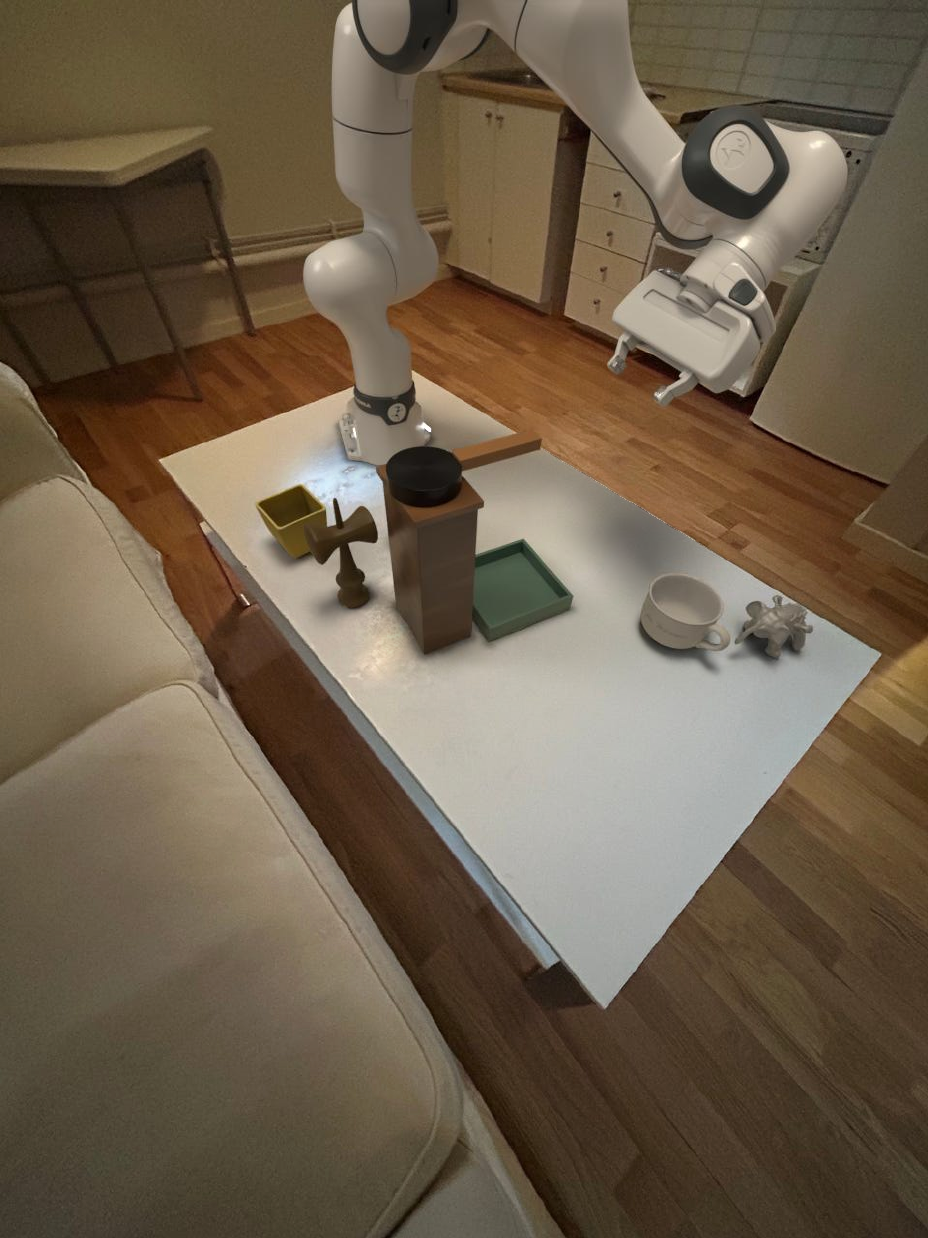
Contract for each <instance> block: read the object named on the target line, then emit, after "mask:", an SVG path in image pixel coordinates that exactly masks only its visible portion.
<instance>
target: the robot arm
mask: <svg viewBox="0 0 928 1238" xmlns="http://www.w3.org/2000/svg"><path fill="white" fill-rule="evenodd" d="M628 2H629V1H628V0H351V2H350V3H348V4H347V5H345V6H344V7H343V8H342V10H341V11H340V12H339V14H338V16H337V19H336V22H335V27H334V35H333V46H332V58H331V59H332V61H331V114H332V115H331V116H332V134H333V136H332V137H333V152H334V169H335V170H334V171H335V179H336V182H337V185H338V187H339V189H340V191H341V192H342V194H343V195H344V196H345V198H346V199H347V200H348V201H349V202H351V203H352V204H353V205H355V206H356V207H358V208H359V209H361V213H362V218H363V229H362V232H360V233H357V234H354V235H349V236H345V237H341V238H337V239H333V240H331V241H329V242H327V243H325V244H324V245H322V246H320V247H319V248H317V249H316V250H314V251H313V252H311V253H309V255H307V257H306V258H305V261H304V265H303V270H302V280H303V287H304V291H305V294H306V296H307V298H308V300H309V302H310V304H311V305H312V307H313V309H315V311H317V313H319V315H321V316H322V317H323V318H325V319H326V320H328V321H329V322H332V323H333V324H334V325H335V326H336V327H337V328H338V329H339V330H340V331H341V332H342V334H343V336H344V338H345V340H346V343H347V345H348V348H349V352H350V358H351V362H352V363H351V364H352V368H353V376H354V385H353V392H352V393H353V396H352V398H351V399H349V400H348V401H347V403H346V411H347V413H342V414H341V419H340V420H339V422H338V425H339V431H340V434H341V436H342V441H343V445H344V449H345V452H346V453H345V454H346V457H347V459H348V460H350V461H355V462H364V463H368V464H370V465H373V466H381V465H384V464H387V462H388V460H389V459H390V458H391V457H392V456H393V455H394V454H396V453H398V452H399V451H402V450H404V449H407V448H411V447H418V446H426V445H427V444H428V443H429V442H430V441H431V434H430V432H432V428H431V427H430V426H428V425H427V424H426V423H425V422H424V415H423V407H422V405H421V404H420V403H419V402H417V399H416V395H417V392H416V390H417V389H416V387H415V386H416V385H415V381H414V379H413V372H412V371H413V367H412V347H411V344H410V341H409V339H408V338H407V337H406V335H405V334H404V333H403V332H402V331H401V330H399V329H397V328H395V327H393V326H390V325H389V321H388V317H387V311H388V308H389V307H391V306H393V305H397V304H399V303H402V302H404V301H407V300H410V299H412V298H414V297H416V296H418V295H419V294H421V293H422V292H423V291H425V290H426V289H427V288H428V287H430V286H432V284H433V283H434V282H435V280H436V279H437V276H438V273H439V253H438V249H437V246H436V244H435V243H436V242H435V241H434V239H433V237H432V236H431V234H430V233H429V232H428V231H427V230H426V229H425V227H424V226H422V224H421V222H420V220H419V218H418V215H417V212H416V207H415V203H414V198H413V187H412V164H413V163H412V159H413V158H412V156H413V126H414V125H413V124H414V96H415V95H414V94H415V89H416V84H417V79H418V78H419V75H420V74H421V73H425V72H427V73H428V72H434V71H439V70H442V69H444V68H445V69H446V68H447V67H449V66H450V65H452V64H453V63H456V62H460V61H464V60H467V59H469V58H472V57H473V56H474V55H475V54H477V52H479V51H480V50H481V49H482V48H483V47H484V46H485V45H486V44H487V42H488V41H489V39H490V38H491V37H492V34H493V33H494V34H496V35H497V36H498V37H499V38H500V39H501V40H503V42H504V43H505V44H506V45H507V46H508V47H509V48H510V49H511V50H512V51H513V53H515V54H516V55H517V56H518V57H519V58H520V59H521V60H522V62H524V64H526V66H527V67H529V69H530V70H531V71H533V73H535V74H536V75H537V76H538V77H539V78H540V79H541V81H543V82H544V83H545V85H546V86H548V87H549V88H550V90H552V91H553V92H554V93H555V94H556V95H557V96H558V97H559V98H560V99H561V100H562V101H563V102H564V103H565V104H566V105H567V106H568V107H569V108H570V110H571V111H572V112H573V113H574V114H575V115H576V116H577V117H578V118H579V119H580V120H581V121H582V123H584V125H586V127H587V128H588V129H589V130H590V132H591V133H592V134H593V136H594V137H595V138H596V139H597V140H598V142H599V143H600V144H601V145H602V146H603V148H604V149H605V150H606V151H607V152H608V153H609V155H610V156H611V157H612V158H613V159H614V161H616V163H617V164H618V165H619V167H621V168H622V170H623V171H624V173H626V174H627V176H628V177H629V178H630V180H632V182H633V183H634V184H635V185H636V186H637V187H638V188H639V191H641V192H642V194H643V195H644V197H645V199H646V200H647V203H648V205H649V207H650V210H651V213H652V217H653V219H654V222H655V225H656V228H657V230H658V233H659V234H660V236H661V237H662V238H663V239H664V240H665V242H667V243H668V244H669V245H671V246H672V247H674V248H677V249H680V250H685V251H690V250H697V249H701V248H703V249H702V250H701V251H700V252H699V254H698V255H697V256H696V257H695V259H694V260H693V261H692V262H691V263H690V264H689V266H688V267H687V268H686V269H685V271H683V272H682V271H677V270H675V268H673V267H672V266H664V267H662V268H658V269H656V270H655V269H654V270H652V271H651V272H650V273H649V274H648V275H647V276H646V277H645V278H643V279H642V280H641V281H640V282H639V283H638V284H637V285H636V286H635V287H634V288H633V289H632V290H631V291H630V292H629V293H628V294H627V295H626V296H625V297H624V298H623V300H622V301H620V303H619V304H618V305H617V306H616V308H615V309H613V312H612V317H611V322H612V324H613V325H614V327H615V328H616V330H617V331H618V333H620V334H621V335H620V337H619V338H618V340H617V343H616V347H615V350H614V355H612V357H611V358H610V359H609V361H608V362H607V364H606V367H607V368H608V370H609V371H610V372H612V373H613V374H615V375H616V376H619V375H621V374H622V371H624V370H625V369H626V368H627V366H628V364H627V362H625V361H626V358H627V355H628V352H629V351H634V349H635V348H636V347H637V346H639V347H641V348H642V349H644V350H645V351H648V352H649V353H650V354H652V355H654V356H655V357H657V358H658V359H660V360H662V361H663V362H664V363H666V364H668V365H670V366H671V367H673V368H674V369H676V370H678V371H679V372H680V374H679V375H678V377H679V379H678V380H677V381H674V382H673V383H671V384H670V385H668V386H665V385H663V384H661V385H660V386H659V387H658V388H657V391H655V392H654V393H653V395H652V400H653V401H654V402H655V403H656V404H657V405H659V406H660V407H662V408H666V407H667V406H668V405H669V404H670V403H671V402H672V401H673V400H674V398H677V397H680V396H682V395H684V394H686V393H688V392H691V391H692V390H693V389H695V387H696V386H697V385H698V384H700V385H702V386H703V387H705V388H706V389H708V390H709V391H711V392H712V393H714V394H720V393H723V392H725V391H728V390H729V389H730V388H732V386H733V385H735V383H736V382H738V380H739V379H740V378H741V376H743V374H744V373H745V372H746V371H747V370H748V368H749V367H750V366H751V365H752V363H754V361H755V360H756V358H757V356H758V355H759V353H760V350H761V343H765V342H767V341H769V340H770V339H771V338H772V337H773V336H774V335H775V333H776V332H777V326H776V325H777V324H776V320H775V317H774V313H773V310H772V308H771V306H770V303H769V300H768V299H767V297H766V294H765V293H764V292H765V291H766V290H767V288H768V287H769V285H770V283H771V282H772V280H773V278H774V276H775V275H776V274H777V272H778V271H779V270H780V269H781V268H783V267H784V266H785V265H786V264H788V263H790V262H791V261H792V260H794V258H795V257H796V256H797V255H798V254H799V253H800V252H801V250H802V249H803V248H804V247H805V246H806V245H807V244H808V243H809V241H810V240H811V239H812V238H813V237H814V236H815V234H816V233H817V232H818V231H819V229H820V228H821V227H822V225H823V224H824V223H825V221H826V220H827V219H828V217H830V215H831V214H832V212H834V211H833V210H835V208H836V206H837V204H838V203H839V201H840V199H841V198H842V197H843V194H844V192H845V189H846V186H847V181H848V175H849V174H848V164H847V160H846V157H845V153H844V151H843V149H842V147H841V146H840V144H839V143H838V142H837V141H836V140H835V138H833V136H831V135H830V134H828V133H827V132H824V131H822V130H809V131H795V130H790V129H786V128H783V127H780V126H778V125H775V124H773V123H771V122H769V121H768V120H765V119H764V117H762V115H761V114H760V113H759V112H758V111H756V110H754V109H753V108H751V107H749V106H746V105H743V104H742V105H741V104H730V105H726V106H721V107H718V108H717V109H715V110H713V111H711V112H710V113H708V114H707V115H706V116H704V117H703V118H702V119H701V120H700V121H699V122H698V123H697V124H696V126H695V127H694V128H693V129H692V131H691V132H690V134H689V136H688V138H687V140H686V142H684V141H683V140H682V139H681V137H680V136H679V135H678V134H677V133H676V131H675V130H674V129H673V128H672V126H670V124H669V122H667V120H666V119H665V118H664V116H663V115H662V113H660V112H659V110H658V109H657V107H656V106H655V105H654V104H653V103H652V102H651V100H650V99H649V97H648V96H647V95H646V94H645V92H644V90H643V88H642V86H641V83H640V81H639V78H638V76H637V72H636V68H635V64H634V59H633V51H632V43H631V34H630V21H629V20H630V19H629V3H628Z"/></svg>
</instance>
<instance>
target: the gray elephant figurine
mask: <svg viewBox="0 0 928 1238" xmlns="http://www.w3.org/2000/svg"><path fill="white" fill-rule="evenodd" d="M771 599H772V602H773V603H774V606H773V607H768V606H767V605H766V604H765V603H764V602H763V601H760V600H754V601H751V602H749V603H748V604H747V605H746V606H745V611H746V613H747V615H748V616H749V617H750V618H751V619H748V620H745V621H744V622H743V628H744V631H743V632H741V633H740V634H739V635H738V636H737V637H736V638H735V639H734V641H733V643H734V645H740V644H741V643H742V642H743V641H744V639H745V638H747V637H748V636H749V635H750V634H752V633H753V635H754V636H755V637H757V638H760V639H766V638H767V639H768V646H766V648H765V649H764V652H765V653H766V655H768V656H770V657H772V658H775V659H778V658H780V657H781V655H782V646H783V644H785V642H786V641H787V639H788V637H789V636H791V635H792V643H791V645H792V646H791V647H792V648H793V649H794V650H795V651H799V650H801V649H802V648H804V647H805V644H806V639H807V637H806V636H807V635H809V634H812V633H813V631H814V626H813V625H812V624H809V625H807V623H806V621H805V620H806V618H807V617H806V616H807V615H808V611H807V608H806V607H804V606H802V605H801V604H800V603H799V602H796V603H791V602H788V603H785V604H783V603H782V602H783V599H784V597H783V596H782V595H780V594H776V595H773V596H772V597H771Z"/></svg>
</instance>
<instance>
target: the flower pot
mask: <svg viewBox="0 0 928 1238" xmlns="http://www.w3.org/2000/svg"><path fill="white" fill-rule="evenodd" d="M254 505H255V507H256V509H257V511H258V514H259V515H260V517H261V519H262V522H263V523H264V525H265V527H266V529H268V531H269V532H270V534H271V535H272V536H273V537H274V538H275V539H276V540H277V541H278V543H279V544H280V545H281V546H282V547H283V549H285V550H286V552H287V553H288V554H289V555H290V556H291V557H293V558H295V559H298V558H300V557H302V556H304V555H306V554H308V553H311V551H310V549H309V546H308V544H307V541H306V538H305V535H304V530H303V528H304V524H305V523H309V524H314V525H318V526H324V527H328V518H327V516H328V515H327V507H326V506H325V505H324V503H322V502H321V501H320V500H319V499H318V498H317V497H316V496H315V495H314V494H313V493H312V492H311V491H310V490H309V489H308V487H306V486H305V485H303V484H302V483H299V484H296V485H294V486H291V487H288V488H286V489H284V490H282V491H280V492H278V493H275V494H272V495H270V496H268V497H264V498H262V499H260V500H258V501H256V502H254Z"/></svg>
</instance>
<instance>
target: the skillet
mask: <svg viewBox="0 0 928 1238" xmlns="http://www.w3.org/2000/svg"><path fill="white" fill-rule="evenodd" d="M542 440H543V438H542V437H541V436H540V435H539V434H538V433H537V432H536V431H534V429H533V428H532V429H527V430H523V431H520V432H516V433H512V434H509V435H505V436H500V437H498V438H494V439H489V440H487V441H486V440H485V441H483V442H479V443H475V444H472V445H468V446H464V447H460V448H457V449H452V450H451V451H449V450H447V449H444V448H441V447H437V446H429V445H425V446H418V447H411V448H407V449H404V450H402V451H399V452H398V453H396V454H394V455H393V456H392V457H391V458H390V459H389V460H388V462H387V464H386V478H387V488H388V491H389V493H390V494H391V495H392V497H393V498H395V499H396V500H397V501H399V502H401V503H403V504H406V505H409V506H414V507H434V506H439V505H442V504H445V503H447V502H449V501H451V500H453V499H454V498H455V497H456V496H457V495H458V494H459V492H460V490H461V487H462V476H463V472H465V471H469V470H472V469H477V468H479V467H483V466H486V465H491V464H495V463H496V462H497V463H498V462H501V461H504V460H508V459H511V458H515V457H519V456H522V455H526V454H530V453H532V452H536V451H540V450H541V448H542Z"/></svg>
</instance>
